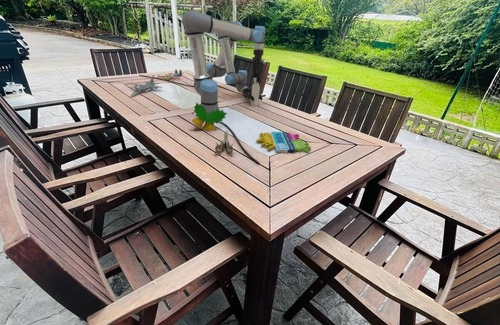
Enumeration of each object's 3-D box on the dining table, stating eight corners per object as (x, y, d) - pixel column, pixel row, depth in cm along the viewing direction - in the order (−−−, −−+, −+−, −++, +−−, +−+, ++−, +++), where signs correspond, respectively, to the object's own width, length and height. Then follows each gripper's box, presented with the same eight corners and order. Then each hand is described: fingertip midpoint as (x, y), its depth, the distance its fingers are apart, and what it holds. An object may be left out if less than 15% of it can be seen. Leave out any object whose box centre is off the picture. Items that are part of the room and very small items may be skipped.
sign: (313, 150, 142) (258, 149, 139) (312, 153, 143) (258, 152, 140) (301, 132, 164) (254, 130, 161) (301, 134, 165) (254, 133, 162)
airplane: (124, 86, 239) (122, 75, 233) (160, 84, 252) (158, 73, 247) (129, 98, 210) (126, 86, 205) (168, 95, 223) (167, 83, 218)
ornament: (218, 133, 171) (224, 110, 169) (221, 134, 163) (227, 111, 161) (186, 125, 162) (192, 101, 160) (189, 126, 155) (195, 101, 153)
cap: (260, 81, 206) (260, 78, 205) (256, 82, 203) (256, 79, 202) (255, 80, 208) (256, 77, 207) (252, 81, 205) (252, 78, 204)
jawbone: (234, 135, 144) (233, 125, 135) (233, 160, 138) (232, 151, 129) (217, 135, 144) (216, 125, 135) (216, 160, 138) (214, 150, 129)
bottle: (249, 104, 216) (250, 78, 206) (256, 103, 219) (258, 78, 208) (252, 106, 211) (254, 80, 201) (259, 105, 214) (262, 80, 203)
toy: (190, 70, 289) (177, 74, 263) (190, 77, 293) (178, 82, 267) (167, 67, 294) (152, 71, 268) (168, 74, 298) (153, 79, 272)
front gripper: (269, 51, 189) (266, 83, 201) (257, 48, 202) (255, 78, 214) (260, 50, 186) (257, 84, 197) (248, 47, 199) (247, 79, 210)
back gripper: (256, 95, 231) (268, 102, 213) (235, 96, 224) (246, 104, 206) (256, 86, 228) (269, 93, 210) (236, 87, 220) (246, 95, 202)
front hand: (256, 81), depth 205 cm, fingers closed on cap, 4 cm apart
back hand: (257, 99), depth 208 cm, fingers closed on bottle, 7 cm apart
